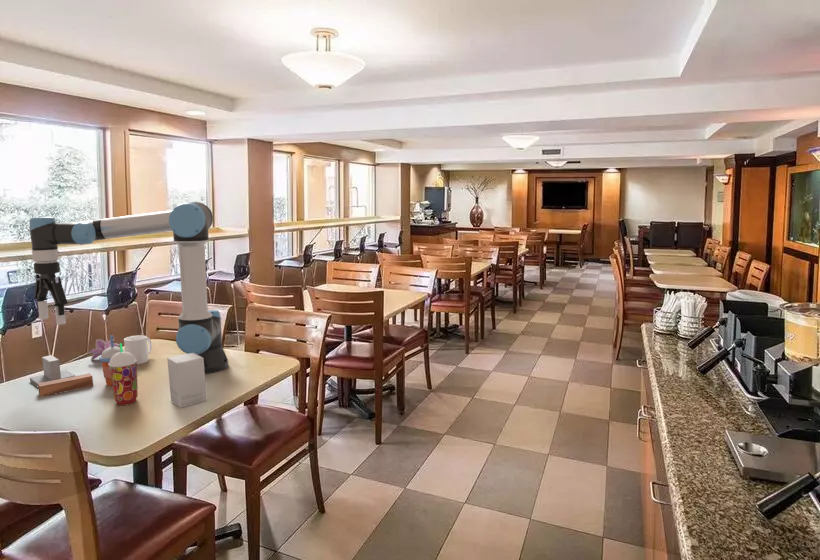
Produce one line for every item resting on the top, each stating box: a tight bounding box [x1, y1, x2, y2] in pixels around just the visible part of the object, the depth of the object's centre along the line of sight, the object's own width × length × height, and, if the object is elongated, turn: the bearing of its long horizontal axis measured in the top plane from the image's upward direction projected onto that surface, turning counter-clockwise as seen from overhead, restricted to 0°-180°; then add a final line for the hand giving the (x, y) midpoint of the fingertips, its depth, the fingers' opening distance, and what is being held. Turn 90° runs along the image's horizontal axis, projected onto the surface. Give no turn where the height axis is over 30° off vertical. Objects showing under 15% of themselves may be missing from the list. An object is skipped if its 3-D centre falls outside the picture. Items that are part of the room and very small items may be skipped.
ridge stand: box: [29, 354, 76, 387], centre depth 207 cm, size 10×12×8 cm
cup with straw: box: [98, 334, 125, 387], centre depth 202 cm, size 9×9×18 cm
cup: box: [123, 335, 153, 365], centre depth 231 cm, size 8×12×10 cm
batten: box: [37, 372, 94, 398], centre depth 198 cm, size 4×16×4 cm, turn 132°
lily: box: [87, 337, 120, 361], centre depth 233 cm, size 12×12×10 cm
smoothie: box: [108, 342, 138, 406], centre depth 184 cm, size 8×8×20 cm
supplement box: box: [167, 353, 207, 408], centre depth 185 cm, size 9×9×15 cm
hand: (52, 321), depth 198 cm, fingers open, 13 cm apart
